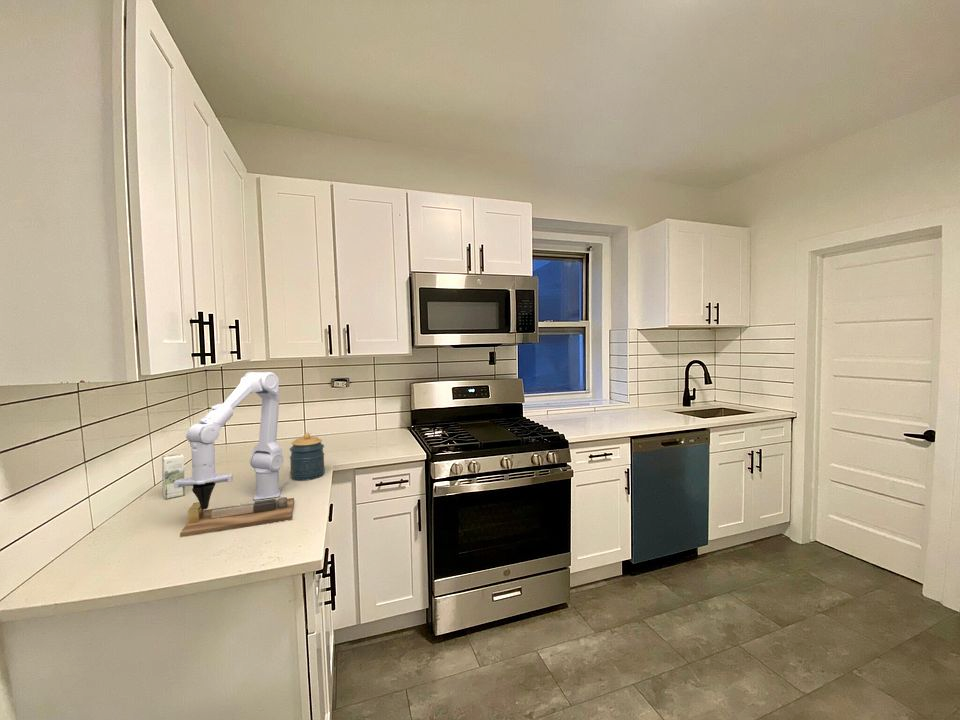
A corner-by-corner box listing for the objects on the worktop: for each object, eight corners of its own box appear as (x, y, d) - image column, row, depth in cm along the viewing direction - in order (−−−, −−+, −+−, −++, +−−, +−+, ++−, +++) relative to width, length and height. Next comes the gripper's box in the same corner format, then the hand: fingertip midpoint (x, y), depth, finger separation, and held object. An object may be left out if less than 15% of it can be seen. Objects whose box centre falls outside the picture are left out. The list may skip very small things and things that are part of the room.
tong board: (196, 514, 126) (195, 503, 126) (294, 501, 137) (293, 490, 137) (180, 537, 111) (179, 523, 111) (291, 519, 122) (291, 507, 122)
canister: (286, 482, 156) (285, 437, 156) (294, 472, 169) (293, 430, 168) (321, 479, 159) (320, 435, 158) (327, 469, 172) (326, 429, 171)
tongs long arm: (212, 516, 122) (212, 509, 122) (275, 507, 128) (275, 501, 128) (211, 518, 120) (211, 511, 120) (275, 509, 126) (274, 503, 126)
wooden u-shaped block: (194, 515, 122) (193, 502, 122) (203, 514, 123) (203, 501, 123) (188, 523, 117) (188, 509, 117) (198, 521, 118) (198, 508, 118)
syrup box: (182, 491, 147) (181, 452, 147) (185, 495, 143) (184, 455, 142) (162, 495, 143) (161, 455, 143) (165, 500, 139) (163, 458, 138)
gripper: (169, 470, 114) (171, 517, 114) (228, 464, 119) (230, 509, 120) (177, 463, 121) (179, 508, 121) (233, 458, 126) (234, 500, 126)
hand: (205, 508), depth 121 cm, fingers closed
